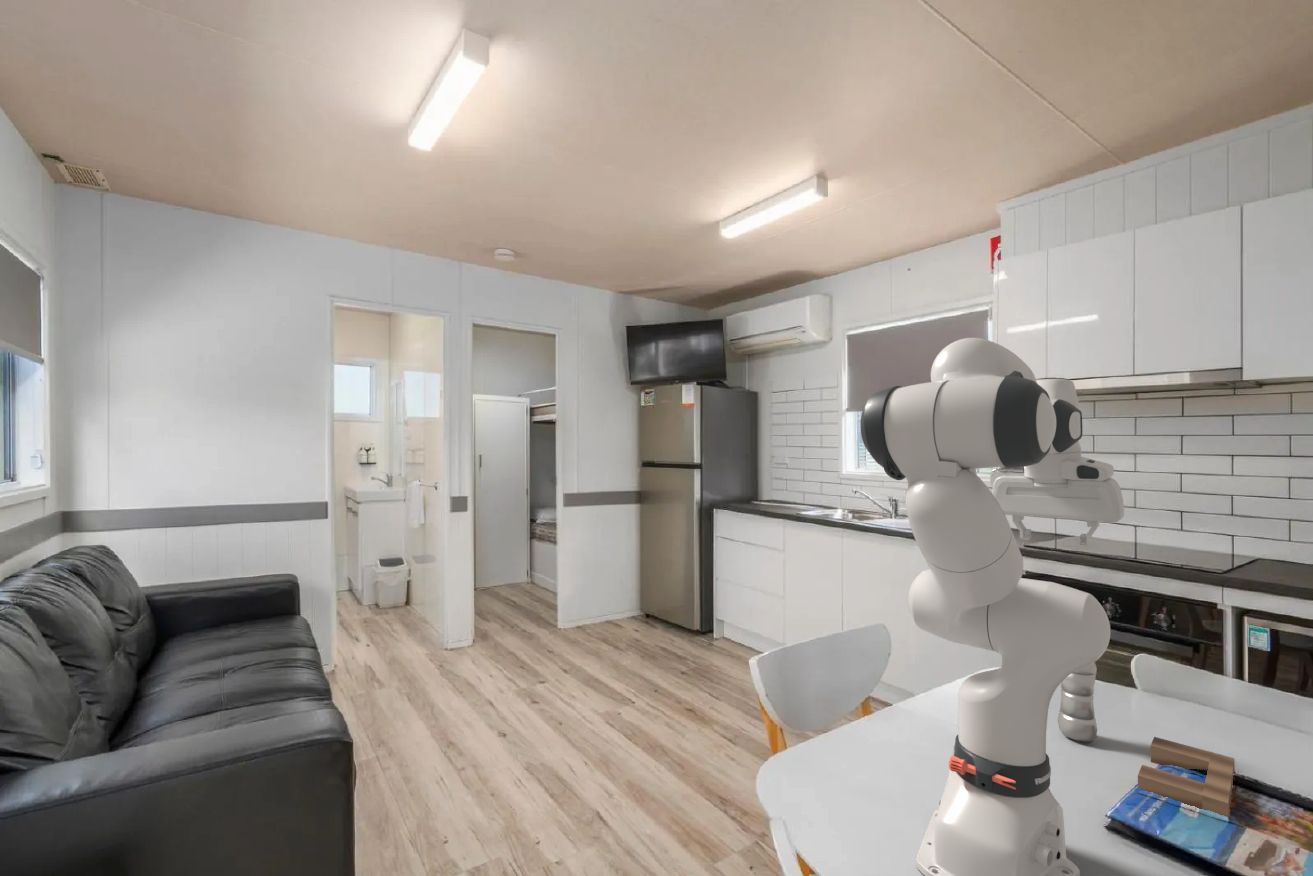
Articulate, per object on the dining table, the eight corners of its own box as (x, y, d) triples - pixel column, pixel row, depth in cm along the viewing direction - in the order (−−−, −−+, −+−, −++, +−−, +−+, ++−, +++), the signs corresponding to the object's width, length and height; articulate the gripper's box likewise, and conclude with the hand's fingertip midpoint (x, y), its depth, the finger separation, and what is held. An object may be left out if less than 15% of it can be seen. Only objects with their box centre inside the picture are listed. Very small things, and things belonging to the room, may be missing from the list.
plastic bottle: (1084, 731, 122) (1083, 633, 123) (1105, 747, 116) (1104, 643, 116) (1050, 729, 123) (1050, 632, 123) (1070, 745, 116) (1069, 642, 117)
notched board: (1228, 823, 92) (1228, 803, 92) (1137, 793, 100) (1137, 775, 100) (1234, 775, 106) (1234, 758, 106) (1154, 752, 114) (1154, 736, 114)
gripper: (984, 467, 114) (987, 539, 114) (1118, 470, 99) (1120, 552, 100) (994, 463, 118) (997, 532, 119) (1124, 466, 103) (1127, 544, 104)
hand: (1055, 541), depth 109 cm, fingers open, 8 cm apart
